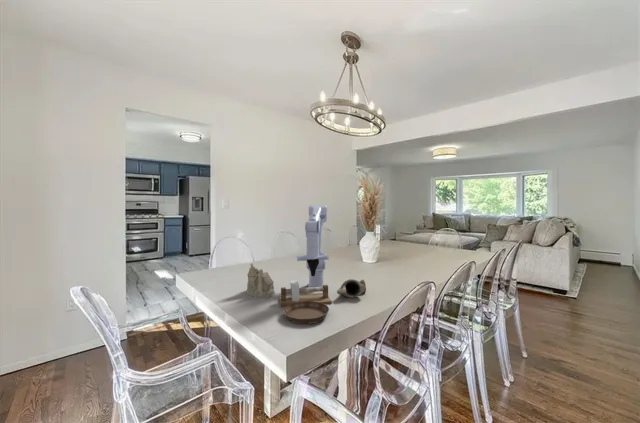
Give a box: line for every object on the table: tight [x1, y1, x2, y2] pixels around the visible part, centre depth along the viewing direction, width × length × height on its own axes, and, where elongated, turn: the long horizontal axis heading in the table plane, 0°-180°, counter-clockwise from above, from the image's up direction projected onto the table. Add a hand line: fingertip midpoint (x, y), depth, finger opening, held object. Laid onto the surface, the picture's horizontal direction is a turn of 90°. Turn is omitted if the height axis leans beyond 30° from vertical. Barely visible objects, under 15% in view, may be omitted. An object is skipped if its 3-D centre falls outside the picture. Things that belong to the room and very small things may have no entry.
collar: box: [290, 280, 300, 302], centre depth 126 cm, size 7×3×7 cm, turn 12°
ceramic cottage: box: [246, 263, 276, 299], centre depth 141 cm, size 16×16×15 cm
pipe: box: [336, 278, 367, 299], centre depth 135 cm, size 16×9×15 cm
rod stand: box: [278, 284, 333, 308], centre depth 127 cm, size 12×22×6 cm, turn 102°
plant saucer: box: [282, 301, 330, 325], centre depth 110 cm, size 18×18×3 cm
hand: (312, 275), depth 133 cm, fingers closed
